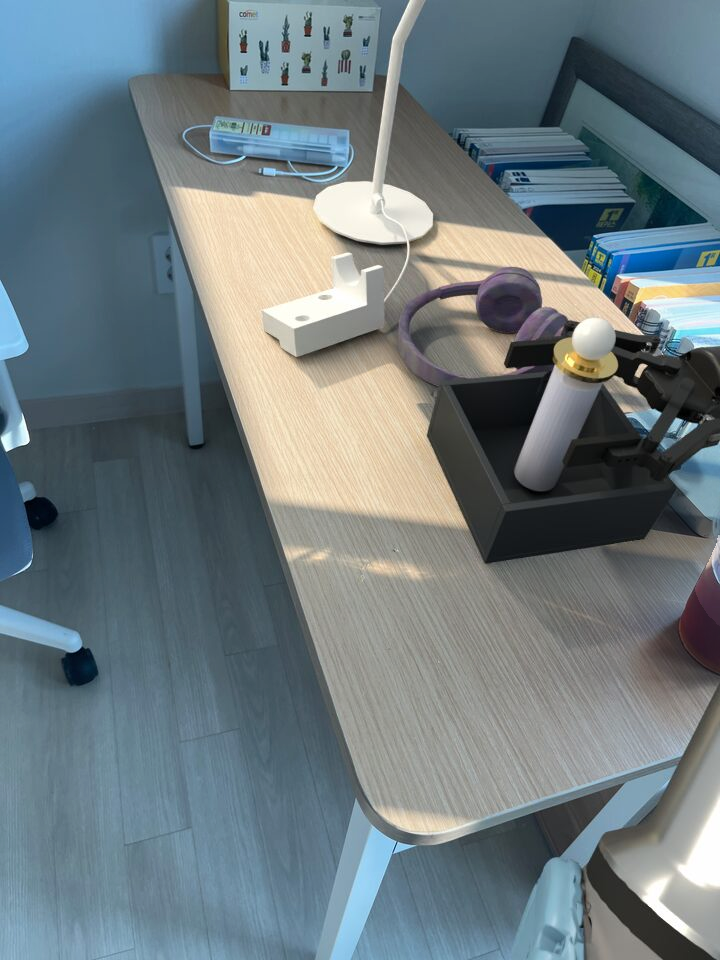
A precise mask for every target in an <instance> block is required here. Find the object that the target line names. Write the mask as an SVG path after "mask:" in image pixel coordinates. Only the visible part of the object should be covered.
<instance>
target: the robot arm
mask: <svg viewBox="0 0 720 960" xmlns="http://www.w3.org/2000/svg"><path fill="white" fill-rule="evenodd" d="M581 322H582V321H575V320H571V319H568V320H567V321H566V323H565V325H564V328H563V330H562V333H561V335H560V336H551V337H539V338H537V339H536V340H529V341H514V340H513V341H510V343H509V346H508V349H507V352H506V355H505V358H504V361H503V365H504V367H505V369H516V368H519V367H531V366H544V365H555V364H554V362H553V359H552V352H553V349H554V347H555V345H556V344H557V342H559V341H560V340H562V339H565V338H570V337H572V335H573V332H574V330H575V328H576V327H577V325H578V324H579V323H581ZM614 331H615V335H616V340H615V344H614V347H613V349H612V350H611V352H612V353H613V354H614V356H615V357H616V359H617V361H618V368H617V371H616V373H615V375H614V376H613V377H617V378H619V379H621V380H622V381H623V383H624V385H626V386H629V387H631V388H635V389H636V390H637V391H638V394H640V395H641V396H642V397H643V398H645V400H646V403H647V404H648V406H649V408H650V409H651V410H655V411H656V412H658V413H660V415H659V416H658V418H657V420H656V421H655V423H654V424H653V426H652V427H651V429H650V431H649V432H648V433H647V434H646V436H645V438H644V439H643V437H642V436H641V435H640V433H639V432H638V431H637V432H636V433H627V434H618V435H608V436H599V437H590V438H581V439H572V440H571V443H570V445H569V447H568V449H567V451H566V454H565V456H564V458H563V460H562V462H563V464H564V466H565V467H574V466H583V465H591V464H599V463H605V464H606V466H608V467H620V466H628V465H637V466H639V467H646V468H647V469H648V470H649V471H651V472H650V477H651V478H652V479H654V480H655V481H662V480H663V479H665V478H666V477H667V476H670V475H671V474H672V473H674V472H675V471H676V470H677V469H679V468H680V467H681V466H682V465H684V464H685V463H686V462H688V461H689V460H690V459H691V458H692V457H693V456H695V455H696V454H698V452H700V451H702V450H703V449H707V448H711V447H715V446H718V445H719V443H720V345H717V346H716V345H715V346H702V347H701V346H699V347H696V348H692V349H690V350H688V351H687V352H685V353H683V354H681V355H678V356H673V355H667V354H663V352H662V351H661V350H660V348H659V346H660V343H661V341H662V339H661V337H660V336H658V335H655V334H635V333H630V332H628V331H627V332H626V331H621V330H617V329H614ZM641 365H646V366H645V367H644V369H643V370H642V371H641V372H640V375H639V376H637V375H636V373H637V371H638V370H639V368H640V366H641ZM676 419H678V420H682V421H685V422H688V423H691V424H696V427H694V428H693V429H692V430H690V431H689V432H688V433H686V434H685V435H684V436H683V437H681V438H680V439H678V440H677V441H676V442H675V443H673V444H672V445H671V446H669V447H668V448H667V449H665V450H664V451H661V450H660V449H658V448H659V446H660V444H661V443H662V441H663V439H664V438H665V436H666V435H667V433H668V431H669V430H670V428H671V426H672V425H673V423H674V422H675V420H676ZM638 433H639V434H638ZM641 437H642V438H641ZM641 439H643V440H644V442H643V443H639V442H640V441H641ZM513 940H514V941H513V942H512V943H513V944H512V946H511V950H510V953H509V957H508V960H720V682H719V683H718V685H717V687H716V688H715V691H714V692H713V694H712V696H711V698H710V700H709V703H708V704H707V706H706V708H705V710H704V712H703V714H702V716H701V718H700V720H699V722H698V724H697V726H696V727H695V730H694V732H693V734H692V736H691V737H690V740H689V742H688V743H687V746H686V748H685V749H684V751H683V754H682V755H681V757H680V760H679V762H678V764H676V768H675V770H674V771H673V772H672V775H671V777H670V778H669V781H668V783H667V785H666V787H665V789H664V791H663V793H662V795H661V797H660V799H659V801H658V803H657V805H656V807H655V809H654V810H653V813H652V815H651V816H650V819H649V820H647V821H645V822H643V823H640V824H636V825H632V826H631V825H630V826H627V827H622V828H617V829H613V830H608V831H606V832H604V833H603V834H602V835H601V836H600V838H599V840H598V843H597V845H596V846H595V848H594V851H593V852H592V854H591V856H590V858H589V860H588V861H587V863H586V865H585V866H584V867H582V866H581V865H580V863H579V862H578V861H576V860H574V859H573V858H569V859H565V858H562V857H559V856H558V857H557V856H556V857H552V858H550V859H549V860H548V861H547V862H546V863H545V864H544V866H543V870H542V872H541V875H540V876H539V878H538V879H537V881H536V882H535V884H534V886H533V888H532V891H531V892H530V895H529V898H528V901H527V904H526V906H525V909H524V911H523V914H522V917H521V920H520V923H519V925H518V928H517V931H516V934H515V937H514V939H513Z"/></svg>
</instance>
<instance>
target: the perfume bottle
mask: <svg viewBox="0 0 720 960" xmlns="http://www.w3.org/2000/svg"><path fill="white" fill-rule="evenodd" d="M580 322H581V323H579V324H578V325H577V327H576V328H575V330H574V332H573V335H572V337H570V338H565V339H562V340H560V341H559V342H557V344H556V345H555V347H554V349H553V352H552V359H553V362H554V364H555V366H554V368H553V370H551V371H548V372H547V373H546V374H545V375H544V376H543V378H542V381H541V383H540V386H539V389H538V391H539V390H540V389H541V388H542V387H544V386H546V385H547V386H546V389H545V391H544V394H543V396H542V399H541V401H540V404H539V407H538V409H537V412H536V414H535V417H534V419H533V422H532V424H531V427H530V430H529V432H528V435H527V437H526V440H525V442H524V445H523V447H522V450H521V453H520V455H519V458H518V460H517V463H516V465H515V468H514V474H515V477H516V478H517V480H518V481H519V482H520V483H521V484H522V485H523V486H525V487H527V488H529V489H531V490H535V491H548V490H550V489H552V488H554V487H555V485H556V484H557V482H558V479H559V477H560V475H561V473H562V471H563V469H564V464H563V462H562V460H563V458H564V456H565V454H566V451H567V449H568V447H569V445H570V443H571V440H572V439H577V438H578V436H579V434H580V432H581V429H582V427H583V425H584V423H585V421H586V419H587V416H588V414H589V412H590V410H591V408H592V406H593V403H594V401H595V399H596V397H597V395H598V393H599V390H600V388H601V386H602V384H604V383H606V382H608V381H610V380H612V378H614V377H615V376H614V375H615V373H616V371H617V368H618V361H617V359H616V357H615V356H614V354H613V353H612V352H611V350H612V349H613V347H614V344H615V340H616V335H615V331H614V330H615V329H614V326H613V325H612V324H611V323H610V321H608V320H606V319H605V318H603V317H599V316H592V317H588V318H586V319H583V320H582V321H580ZM548 377H549V378H548ZM545 379H546V380H545ZM548 379H549V380H548ZM543 381H544V383H543ZM546 383H547V384H546ZM544 384H545V385H544ZM541 385H542V386H541ZM538 391H537V392H538ZM536 396H537V395H536Z"/></svg>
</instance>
